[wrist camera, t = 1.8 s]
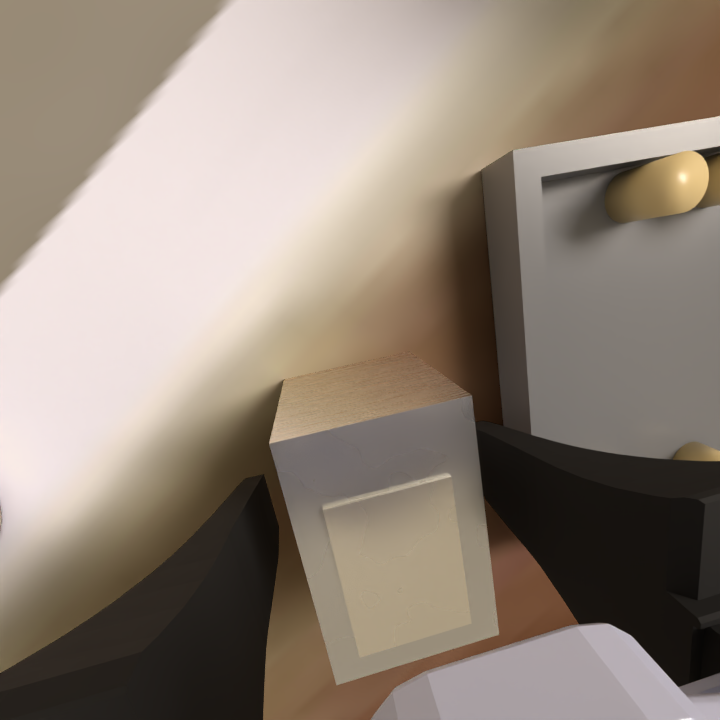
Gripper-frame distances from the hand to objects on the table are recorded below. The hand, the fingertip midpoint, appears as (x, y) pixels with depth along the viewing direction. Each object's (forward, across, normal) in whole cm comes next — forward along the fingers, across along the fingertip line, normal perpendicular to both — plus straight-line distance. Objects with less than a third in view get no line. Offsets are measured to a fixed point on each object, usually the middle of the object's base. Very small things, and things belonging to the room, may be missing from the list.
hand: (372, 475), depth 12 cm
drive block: (+2, 0, 0) cm, 2 cm away
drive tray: (+1, -12, -2) cm, 12 cm away
